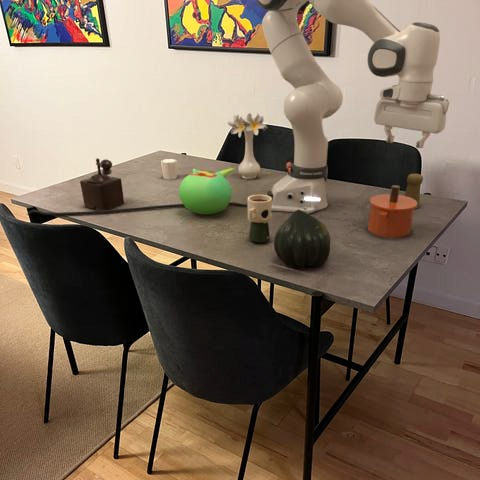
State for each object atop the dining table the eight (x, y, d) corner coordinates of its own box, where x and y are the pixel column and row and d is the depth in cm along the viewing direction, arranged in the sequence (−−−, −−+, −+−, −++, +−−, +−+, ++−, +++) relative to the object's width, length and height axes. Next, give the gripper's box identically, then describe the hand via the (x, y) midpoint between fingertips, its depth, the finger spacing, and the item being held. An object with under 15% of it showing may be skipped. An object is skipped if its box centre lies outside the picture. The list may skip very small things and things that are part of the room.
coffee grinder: (82, 207, 173) (72, 156, 163) (104, 198, 180) (96, 149, 171) (113, 215, 165) (105, 162, 156) (135, 206, 173) (129, 154, 164)
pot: (358, 236, 147) (361, 207, 143) (379, 218, 160) (383, 191, 155) (398, 245, 141) (403, 215, 136) (417, 226, 154) (422, 198, 149)
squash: (329, 261, 120) (332, 204, 122) (269, 260, 123) (273, 204, 125) (328, 276, 134) (331, 224, 136) (275, 274, 136) (278, 224, 139)
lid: (362, 207, 145) (364, 188, 141) (379, 195, 154) (381, 177, 151) (408, 216, 138) (411, 196, 135) (422, 202, 148) (426, 184, 144)
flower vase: (241, 170, 212) (241, 108, 198) (274, 177, 201) (275, 113, 188) (220, 176, 204) (218, 112, 190) (253, 184, 193) (253, 118, 179)
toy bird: (172, 217, 163) (168, 173, 155) (193, 201, 176) (191, 160, 169) (222, 223, 158) (220, 178, 150) (239, 206, 171) (239, 164, 163)
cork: (420, 209, 167) (426, 177, 161) (401, 208, 168) (407, 176, 162) (418, 203, 172) (424, 172, 166) (400, 202, 173) (405, 171, 167)
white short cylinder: (177, 179, 200) (176, 162, 196) (160, 180, 200) (159, 162, 196) (179, 175, 206) (178, 158, 202) (163, 175, 206) (161, 158, 202)
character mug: (260, 249, 140) (260, 205, 133) (239, 244, 144) (239, 201, 137) (278, 236, 148) (279, 195, 141) (258, 232, 151) (258, 191, 144)
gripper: (455, 95, 128) (443, 149, 135) (386, 87, 140) (379, 137, 147) (444, 97, 124) (433, 153, 131) (375, 90, 136) (368, 141, 143)
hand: (404, 144), depth 139 cm, fingers open, 8 cm apart
